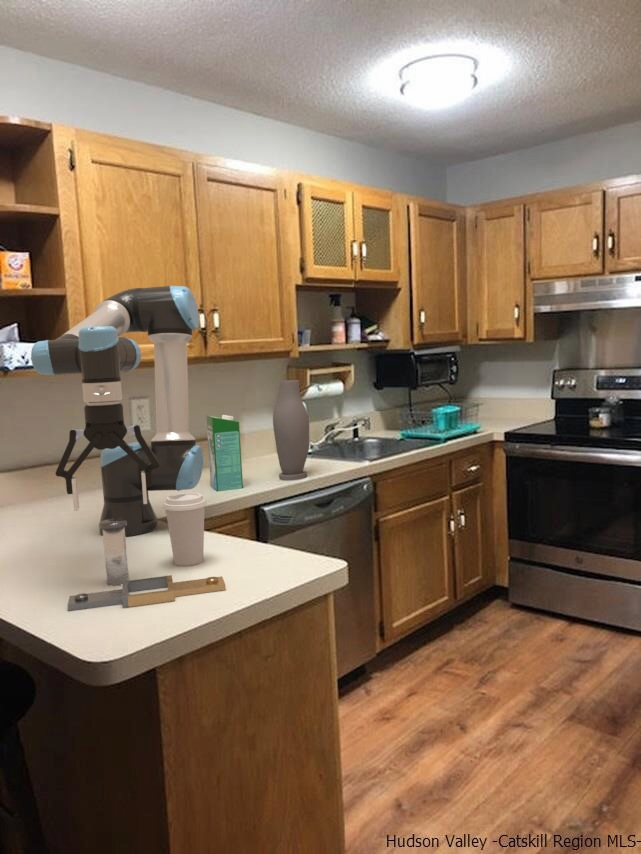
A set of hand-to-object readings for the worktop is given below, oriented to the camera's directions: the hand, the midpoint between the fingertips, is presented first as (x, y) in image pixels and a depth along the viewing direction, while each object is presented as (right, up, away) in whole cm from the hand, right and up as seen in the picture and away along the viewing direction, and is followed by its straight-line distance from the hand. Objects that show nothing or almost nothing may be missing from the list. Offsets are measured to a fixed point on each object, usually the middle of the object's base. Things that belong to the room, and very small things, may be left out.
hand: (111, 506), depth 144 cm
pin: (+1, -16, +2) cm, 16 cm away
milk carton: (+11, -5, +95) cm, 96 cm away
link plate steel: (+4, -17, -8) cm, 20 cm away
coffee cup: (+13, -14, +14) cm, 24 cm away
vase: (+33, -2, +108) cm, 113 cm away
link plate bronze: (+15, -16, -5) cm, 23 cm away
